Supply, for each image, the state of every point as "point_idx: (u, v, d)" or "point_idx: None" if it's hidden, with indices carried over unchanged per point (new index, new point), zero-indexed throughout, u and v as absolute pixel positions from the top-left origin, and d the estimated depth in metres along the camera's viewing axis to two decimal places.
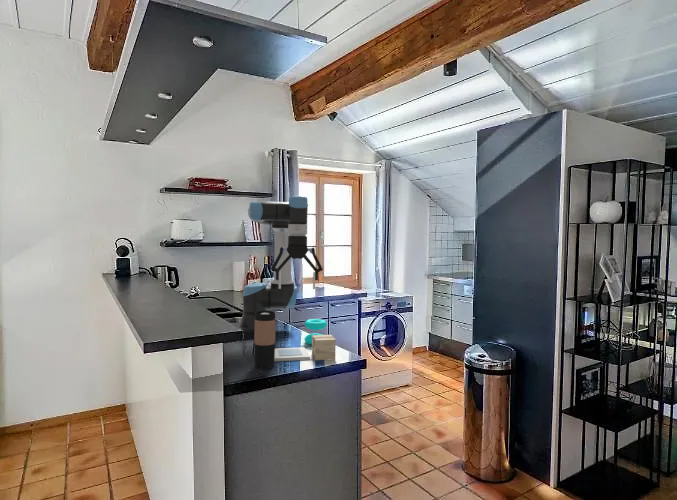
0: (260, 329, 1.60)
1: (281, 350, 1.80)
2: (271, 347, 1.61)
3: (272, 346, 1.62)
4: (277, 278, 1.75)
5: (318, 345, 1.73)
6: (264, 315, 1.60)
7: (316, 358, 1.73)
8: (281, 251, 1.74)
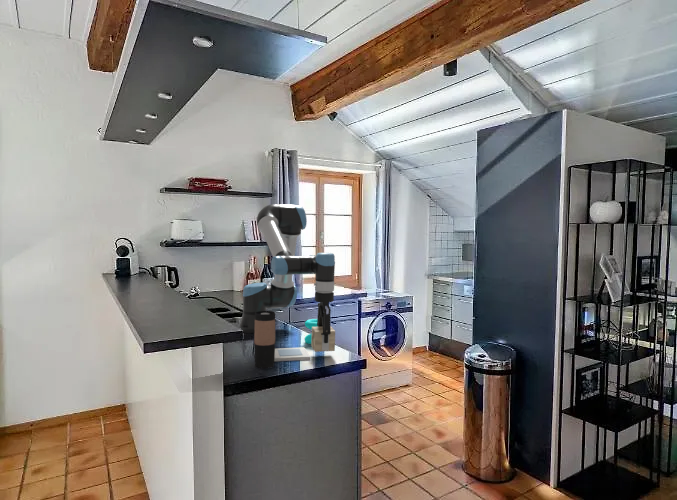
0: (260, 329, 1.60)
1: (281, 350, 1.80)
2: (271, 347, 1.61)
3: (272, 346, 1.62)
4: None
5: (317, 337, 1.73)
6: (264, 315, 1.60)
7: (316, 349, 1.73)
8: (318, 306, 1.82)
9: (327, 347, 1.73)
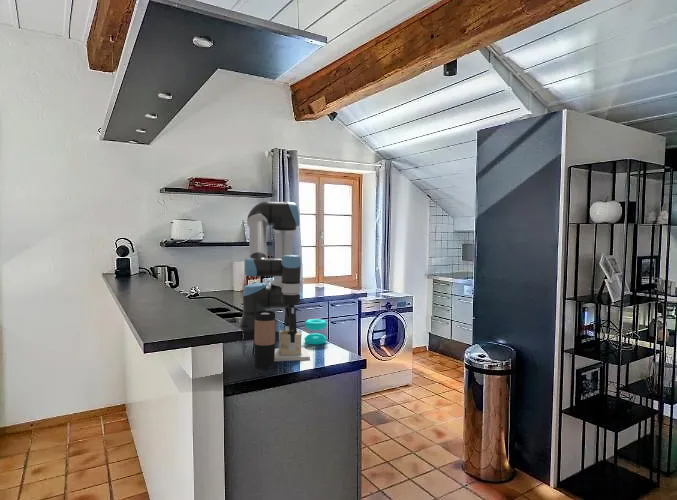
0: (260, 329, 1.60)
1: None
2: (271, 347, 1.61)
3: (272, 346, 1.62)
4: None
5: (283, 340, 1.74)
6: (264, 315, 1.60)
7: (281, 353, 1.74)
8: (285, 306, 1.83)
9: (294, 347, 1.71)
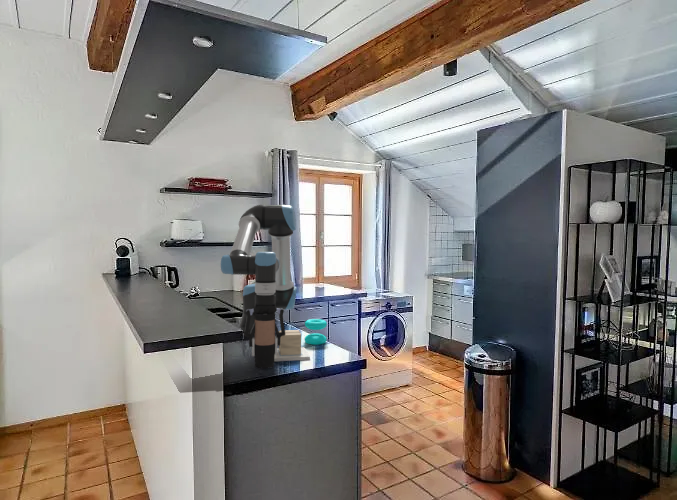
0: (260, 329, 1.60)
1: None
2: (271, 347, 1.61)
3: (272, 346, 1.62)
4: (250, 345, 1.62)
5: (283, 340, 1.74)
6: (264, 315, 1.60)
7: (281, 353, 1.74)
8: (248, 314, 1.61)
9: None
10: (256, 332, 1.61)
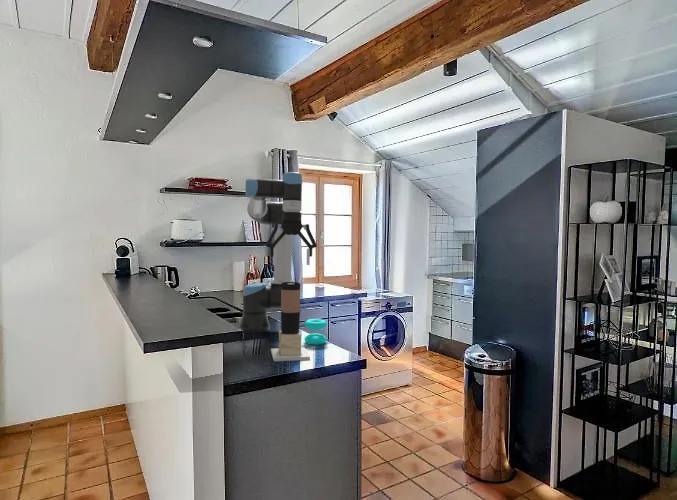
0: (287, 298, 1.74)
1: None
2: (297, 315, 1.75)
3: (297, 314, 1.76)
4: (272, 254, 1.74)
5: (283, 340, 1.73)
6: (290, 285, 1.73)
7: (282, 353, 1.74)
8: (276, 227, 1.73)
9: None
10: (283, 301, 1.75)
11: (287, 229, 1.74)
